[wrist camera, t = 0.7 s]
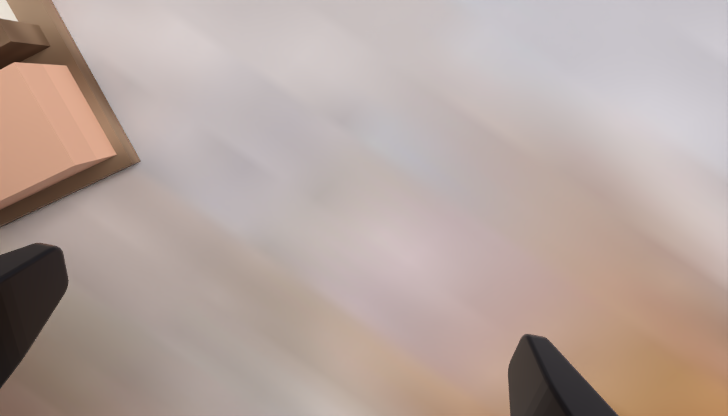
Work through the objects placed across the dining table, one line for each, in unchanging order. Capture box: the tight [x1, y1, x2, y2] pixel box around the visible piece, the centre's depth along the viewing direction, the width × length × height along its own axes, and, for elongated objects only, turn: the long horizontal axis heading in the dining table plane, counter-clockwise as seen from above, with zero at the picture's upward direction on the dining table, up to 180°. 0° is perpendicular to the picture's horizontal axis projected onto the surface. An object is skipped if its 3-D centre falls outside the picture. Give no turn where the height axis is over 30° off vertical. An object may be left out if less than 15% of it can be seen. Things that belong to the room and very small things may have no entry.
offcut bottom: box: [0, 64, 117, 210], centre depth 22 cm, size 5×8×2 cm, turn 114°
